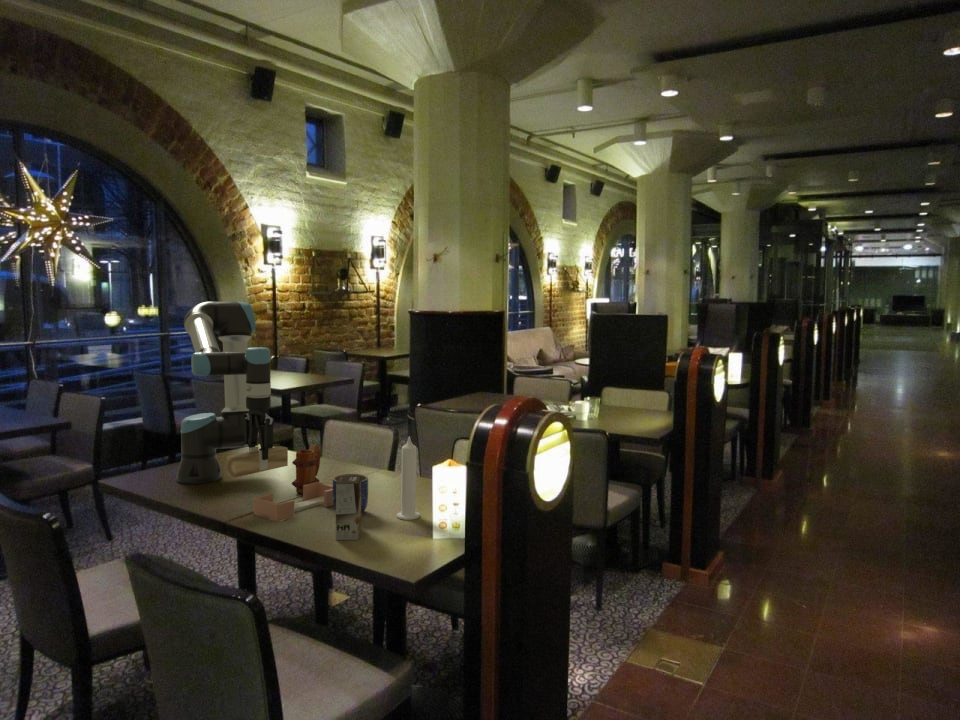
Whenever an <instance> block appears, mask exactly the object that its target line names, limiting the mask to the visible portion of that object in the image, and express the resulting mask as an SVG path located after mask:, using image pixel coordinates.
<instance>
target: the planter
mask: <svg viewBox="0 0 960 720" xmlns="http://www.w3.org/2000/svg"><path fill="white" fill-rule="evenodd" d="M347 475H358V476H361V515H362V514H363V513H364V512H365V510H366V509H367V506H368V501H369V477H368V476H367V475H365V474H361V473H360V474H359V473H345V474H339V475H336V476H334V477H333V478H332V485H333V505H332V506H333V508H334V510H335V511H336V482H337V480H338V479H339V477H340V476H347Z"/></svg>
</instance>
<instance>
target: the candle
mask: <svg viewBox="0 0 960 720" xmlns="http://www.w3.org/2000/svg"><path fill="white" fill-rule="evenodd" d="M407 438H408V439H407V442H406V443H405V444H404V445H402V447H401V470H400V471H401V478H400V479H401V482H400V483H401V487H400V493H401V494H400V511H399V512H397V513H396V517H397V519H399V520H402V519H403V520H404V521H411V520H412V521H414V520H417V519H419V518H420V516H421V515H420V512H418V511H416V509H417V507H416V506H417V500H416V499H417V451H418V450H417V446H416V445H415V444H413V442H412V440H411V436H408V437H407ZM403 520H402V521H403Z"/></svg>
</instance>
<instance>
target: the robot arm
mask: <svg viewBox="0 0 960 720" xmlns="http://www.w3.org/2000/svg"><path fill="white" fill-rule="evenodd" d="M256 324H257V323H256V318H255V313H254V310H253V308H252V305H251V304H250V303H249V302H243V301H203V302H201V303H198V304H196V305H194V306H193V307H191V308H190V309H189V310H188V311H187V313H186V314H185V316H184V319H183V326H184V329H185V332H186V334H188V335H189V336H190V339H191V340H190V341H191V343H192V347H193V350H194V352H193V353H192V354H191V356H190V357H191V359H190V360H191V362H190V363H191V364H190V365H191V373H192V374H193V376H201V377H202V376H203V377H208V376H211V377H212V376H223V380H224V382H223V383H224V408H222V410H221V412H220V415H221V416H217V415H216V413H214V412H208V413H207V412H204V413H203V412H202V413H197V414H192V415H189V416H186V417H184V418H183V419H182V420H181V423H180V434H181V435H180V436H181V437H180V440H181V441H180V443H181V445H180V448H181V450H180V451H181V454H180V456H181V458H180V459H181V460H180V462H179V465H178V468H177V472H176V481H177V482H178V483H181V484H188V485H189V484H191V485H196V484H207V483H212V482H216V481H218V480H221V479H222V469H221V467H220V464H219V462H218V458H217V450H220V449H232V448H245V447H248V449H249V450H248V452H252V451H258V450H259V470H265V469H268V449H270V448H273V447H274V426H275V425H274V424H275V420H276V419H275V417H271V416H270V414H269V409H270V408H271V404H272V403H271V402H272V401H271V400H272V399H271V394H272V390H271V389H272V385H271V383H272V382H271V361H272V357H271V350H270V348H269V347H262V346H261V347H259V346H254V347H248V342H249V341H250V339H251V338H252V334H254V333H255V332H256ZM215 334H217V336H218V337H217V338H218V339H219V341H220V342H222V351H221V350H220V348H219V345H218V341H217V340H216V339H217V338H216V336H215ZM258 439H259V443H258ZM259 444H260V445H259ZM259 446H260V448H259Z"/></svg>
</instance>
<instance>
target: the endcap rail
mask: <svg viewBox="0 0 960 720" xmlns="http://www.w3.org/2000/svg"><path fill="white" fill-rule="evenodd" d="M273 496H274V495H273V493H268V494H264V495H261V496H256V497H253V502H252V503H253V507H252V508H253V515H255V516H257V517H262V518H265V519H267V520H270V521H274V522H277V523H278V522H281V521H284V520H288V519H292V518H294V517H295V513H296V512H299V511H302V510H306V509H309V508H313V507H316V506H320V505H323V507H325V508H329V507H331V506H334V505H333V484H328V483H324V482H320V481H319V482H315V483H311V484H307V485H303V493H302V500H303V501H300V502H297V503H295V500H292V499H290V500H288V501H287V500H285V501H284V502H279V503H276V502H274V501H273V500H274V499H273V498H274V497H273Z"/></svg>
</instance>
